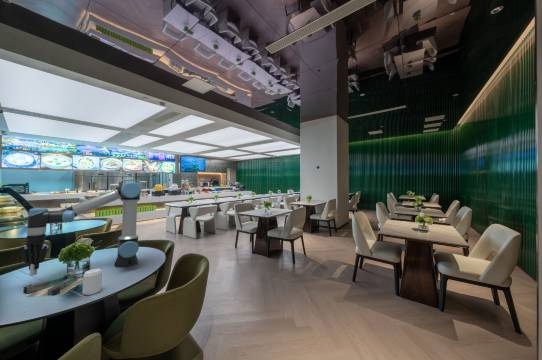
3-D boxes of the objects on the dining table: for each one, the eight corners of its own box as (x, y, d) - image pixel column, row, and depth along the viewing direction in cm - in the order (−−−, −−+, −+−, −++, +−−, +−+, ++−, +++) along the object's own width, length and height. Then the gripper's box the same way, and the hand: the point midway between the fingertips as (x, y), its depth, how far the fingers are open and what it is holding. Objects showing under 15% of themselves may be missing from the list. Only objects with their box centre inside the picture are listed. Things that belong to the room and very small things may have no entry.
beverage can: (90, 289, 120) (91, 268, 120) (104, 288, 121) (105, 268, 121) (78, 296, 112) (79, 274, 112) (93, 295, 112) (94, 273, 113)
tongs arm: (76, 279, 129) (76, 273, 129) (27, 294, 110) (27, 287, 110) (71, 277, 132) (71, 271, 132) (23, 292, 113) (23, 285, 113)
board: (88, 279, 132) (88, 277, 132) (61, 296, 111) (62, 294, 111) (58, 281, 129) (58, 279, 129) (24, 299, 108) (25, 297, 108)
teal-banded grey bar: (82, 278, 130) (83, 273, 131) (55, 295, 110) (55, 289, 111) (70, 279, 129) (71, 274, 129) (40, 296, 109) (41, 290, 109)
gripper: (54, 232, 125) (52, 271, 124) (29, 233, 123) (26, 272, 121) (43, 235, 117) (40, 276, 116) (16, 235, 115) (13, 278, 114)
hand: (33, 274), depth 119 cm, fingers closed
